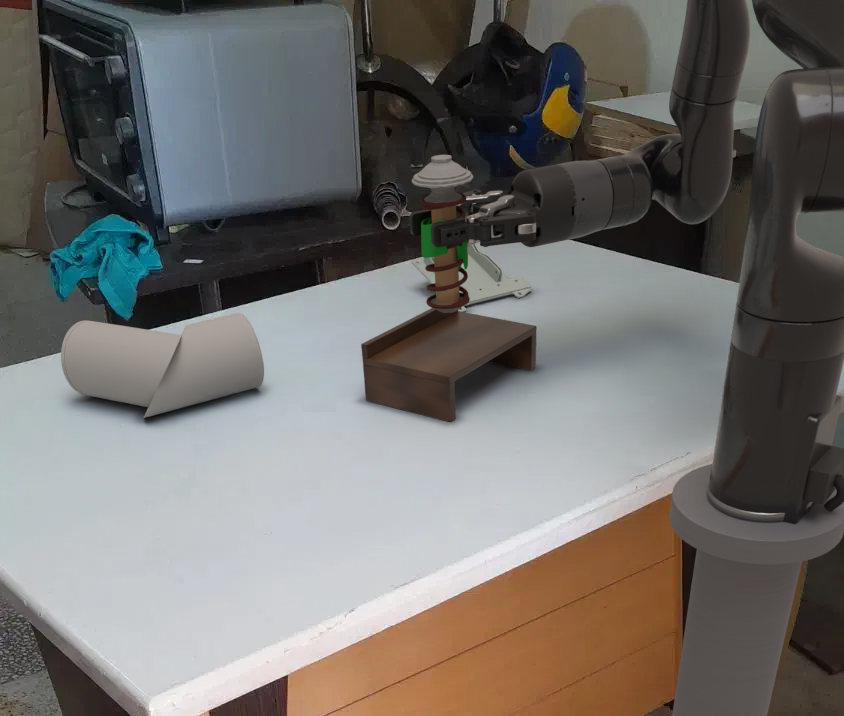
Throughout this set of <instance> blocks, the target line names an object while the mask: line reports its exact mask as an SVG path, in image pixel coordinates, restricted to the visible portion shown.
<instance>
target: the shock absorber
mask: <svg viewBox="0 0 844 716" xmlns="http://www.w3.org/2000/svg"><path fill="white" fill-rule="evenodd" d="M452 158H453V157H452V155H451V154H438V155H433V156H431V159H430V160H431V162H429V163H428V164H426V165H425V166H424V167H423V168H422V169H421V170H420V171H419V172H417V173H415V174H414V175H413V176H412V178H411V184H412V185H414V186H415V187H420V188H429V189H430V193H429V194H426V195H423V196H422V197H421V198H420V200H419V202H420V204H421V209H422V210H431V214H432V217H430V218H426V219H424V220H423V221H422V222H421V235H420V239H421V241H420V243H421V246H420V247H421V258H430V257H434V264H430V265H427V266H426V267H425V269H426V271H429V272H435V283H433V284H431V283H429V284H427V286H426V291H428V292H435V293H434V294H431V295H430V296H428V297H427V299H426V301H425V303H426V305H427V306H428V307H430V308H434V309H436V310H438V311H440V312H443V313H452V312H456V311H458V309H459V310H461V309H460V308H461V307H463V306H464V305H466V304H467V303H468V302H469V300H470V298H469V295H468V292H467V290H466V289H465V288H463V287H461V286H460V285H462V284H463V283H465V281H466V280H467V278H468V274H467V272H466V270H464V269H467V266H468V243H467V240H466V242H463V243H458V244H453V245H448V246H443V247H435V246H433V245H432V243H431V226H432V224H433V223H437V222H442V221H447V220H452V219H456V211H458V212H460V213H461V217H460V218H464V219H465V217H466V212H465V211H464V210H463V209H462V208H460V207H458V206H456V205H459V204H462V203H463V202H465V201H466V198H467V197H466V195H464V194H462V193H463V192H458V191H456V189H455V188H456V187H458V186H462V185H465V184H467V183H470V182H471V181H472V180H473V179H474V175H473V174H472V171H470V170H469V169H466V168H464V167H463V166H462V165H460V164H459V163H458V162H456V161H453V160H452ZM462 264H464V269H463V268H461V265H462ZM459 272H461V273H462V274H463V275H464V277H463V278H462V279H461V280H460V281H459ZM459 291H461V292H463V293H460V292H459ZM466 306H467V305H466ZM464 307H465V306H464Z"/></svg>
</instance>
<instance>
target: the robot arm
mask: <svg viewBox="0 0 844 716" xmlns="http://www.w3.org/2000/svg"><path fill="white" fill-rule="evenodd" d="M751 3H752V8H753V13H754V15H755V19H756V21H757V24H758V25H759V28H760V29H761V30H762V33H764V36H765V37H766V38H767V39H768V40H769V41H770V42H771V44H773V45H774V46H775V47H776V48H777V49H778V50H779V51H780V52H781V53H782V54H784V56H786V57H787V58H789V59H790V60H792V61H793V62H794V63H795V64H797V65H798V66H800V67H801V68H795V69H789V70H785V71H783V72H781V73H779V74H778V75H777V76H776V77H775V78H774V79H773V80H772V82H771V83H770V85H769V87H768V89H767V91H766V93H765V95H764V98H763V101H762V104H761V107H760V112H759V117H758V122H757V126H756V133H755V142H754V150H753V158H752V159H753V161H752V170H751V171H752V172H751V182H750V192H749V202H748V210H747V211H748V212H747V222H746V228H745V229H746V230H745V236H744V243H743V250H742V259H741V266H740V267H741V268H740V277H739V278H740V279H739V285H738V291H737V297H736V304H735V310H734V315H733V323H732V330H731V336H730V342H729V343H730V344H729V350H728V357H727V363H726V369H725V370H726V371H725V376H724V383H723V388H722V389H723V390H722V395H721V403H720V410H719V417H718V423H717V430H716V437H715V442H714V443H715V444H714V450H713V457H712V463H711V464H712V470H711V473H710V481H709V483H708V489H707V499H708V501H709V502H710V504H711V505H712V506H713V507H714V508H716V509H717V510H719V511H720V512H722V513H724V514H726V515H729V516H731V517H734V518H738V519H742V520H746V521H753V522H765V523H771V522H787V523H791V524H797V523H798V522H799V521H800V520H801V519H802V518H803V516H804V515H805V514H806V513H807V512H809V511H810V509H811V508H812V506H813V505H814V504H815V503H817V504H821V505H823V504H824V502H825V501H826V500H827V499H828V498H829V497H830V495H831V494H832V493H833V492H834V491H835V490H837V493H836V495H835V496H834V497H833V498H831V499H830V500H829V501H827V502H826V503H825V504H824V508H825V509H826V510H827V511H829V512H832V511H833V510H834V509H836V508H837V507H839V506H840V505H841V504H842V503H843V502H844V448H843V447H838V446H834V445H833V443H834V438H835V434H836V429H837V425H838V421H839V416H840V412H841V408H842V403H843V396H842V395H840V394H838V389H839V384H840V381H841V376H842V371H843V367H844V257H843V256H841V255H838V254H836V253H833V252H831V251H827V250H824V249H822V248H820V247H817V246H814V245H812V244H810V242H807V241H805V240H804V239H803V238H801V237H800V236H799V235H798V234H797V220H798V216H799V215H800V214H829V213H830V214H831V213H844V0H751ZM750 41H751V19H750V12H749V6H748V2H747V0H687V1H686V9H685V17H684V22H683V29H682V35H681V40H680V45H679V49H678V55H677V60H676V64H675V69H674V75H673V79H672V84H671V89H670V95H669V101H668V103H669V104H668V111H669V114H670V117H671V119H672V121H673V122H674V124H675V127H676V128H677V130H678V131H679V133H666V134H662V135H659V136H657V137H654V138H652V139H651V140H648V141H646V142H644V143H643V144H641V145H639V146H636V147H634V148H633V149H631V150H629V151H628V152H626V153H625V154H623V155H615V156H609V157H604V158H599V159H594V160H593V159H592V160H573V161H568V162H562V163H557V164H552V165H546V166H541V167H535V168H529V169H524V170H522V171H520V172H518V173H517V174H516V175H515V177H514V179H513V180H512V183H511V186H510V188H509V190H508V191H507V194H504V191H503V190H489V191H488V192H486V193H485V194H482V190H480V189H477V188H474V189H472V190H469V191H465V192H461V193H462V194H464V195H466V197H467V198H466V201H465V202H463V203H462V204H459V205H456V206H458V207H460V208H462V209H463V210H464V211H465V212H466V217H465V219H464V218H460V217H461V213H460V212H458V211H456V219H452V220H447V221H442V222H437V223H433V224H432V226H431V243H432V245H433V246H435V247H443V246H448V245H453V244H458V243H463V242H466V240H467V243H469V244H477V243H479V246H480V247H483V248H489V247H493V246H494V247H495V246H500V245H501V246H503V245H510V244H516V243H519V244H520V243H521V244H522V245H523V246H525V247H527V248H536V247H540V246H545V245H550V244H554V243H560V242H564V241H569V240H573V239H579V238H583V237H585V236H588V235H591V234H593V233H596V232H597V233H598V232H600V231H603V230H604V231H605V230H609V229H613V228H618V227H619V228H620V227H624V226H628V225H631V224H634V223H637V222H638V221H639V220H641V219H642V218H644V216H646V214H647V213H648V211H649V209H650V207H651V205H652V200H653V201H655V202H658V204H660V205H661V206H662V207H663V208H664V209H665V210H666V211H667V212H669V213H670V214H671V215H672V216H673V217H674V218H676V219H677V220H678V221H679V222H682V223H684V224H688V225H698V224H702V223H703V222H706V221H707V220H708V219H710V218H711V217H712V216H713V215H715V213H716V212H717V210H718V209H719V208H720V207H721V205H722V203H723V201H724V200H725V197H726V195H727V193H728V190H729V187H730V184H731V179H732V172H733V161H734V158H733V157H734V156H733V155H734V137H735V136H734V135H735V134H734V133H735V126H734V124H735V123H734V122H735V121H734V112H735V111H734V110H735V109H734V108H735V105H736V101H737V97H738V94H739V90H740V86H741V82H742V78H743V74H744V71H745V65H746V63H747V59H748V53H749V48H750V44H751V43H750ZM430 217H432V214H431V210H424V209H422V210H418V211H417V210H416V211H412V212H410V214H409V216H408V223H409V232H410V234H411V235H413V236H415V237H418V236H419V237H420V236H421V222H422V221H423V220H424V219H426V218H430Z"/></svg>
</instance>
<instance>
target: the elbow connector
mask: <svg viewBox="0 0 844 716" xmlns="http://www.w3.org/2000/svg"><path fill="white" fill-rule="evenodd" d="M60 363H61V369H62V373H63V375H64V377H65V379H66V381H67V383H68V385H69V386H70V387H71V388H72V389H73V391H75V392H76V393H79V394H80V395H84V396H88V397H93V398H99V399H102V400H103V399H104V400H109V401H114V402H119V403H124V404H130V405H135V406H139V407H144V408H145V407H146V408H147V409H146V410H145V414H144V416H143V419H146V418H150V417H154V416H157V415H160V414H164V413H168V412H172V411H175V410H179V409H183V408H187V407H191V406H194V405H197V404H202V403H205V402H208V401H212V400H216V399H219V398H224V397H227V396H231V395H235V394H238V393H241V392H242V393H243V392H245V391H249V390H254V389H256V388H260V387H261V386H262V385H263V383H264V378H265V366H264V358H263V353H262V349H261V345H260V342H259V339H258V336H257V334H256V332H255V330H254V327H253V326H252V324H251V322H250V320H249V319H248V317H247V316H245V314H243V313H242V312H235V313H231V314H227V315H222V316H218V317H214V318H211V319H206V320H201V321H198V322H197V321H196V322H194V323H193V322H192V323H189V324H186V325H185V326H184V328H183V331H182V332H181V334H178V333H173V332H171V333H170V332H165V331H160V330H159V331H158V330H153V329H147V328H146V329H145V328H139V327H134V326H133V327H132V326H127V325H120V324H113V323H106V322H102V321H101V322H100V321H94V320H80V321H78V322H76V323H74V324H73V325H72V326H70V328H69V329H68V330H67V332H66V334H65V335H64V338H63V341H62V343H61V350H60Z"/></svg>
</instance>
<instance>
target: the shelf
mask: <svg viewBox="0 0 844 716" xmlns="http://www.w3.org/2000/svg"><path fill="white" fill-rule="evenodd" d="M360 346H361V357H362V369H363V380H364V393H365V401H366V402H369V403H373V404H378V405H381V406H385V407H390V408H393V409H397V410H402V411H406V412H409V413H414V414H417V415H422V416H425V417H429V418H433V419H437V420H442V421H444V422H449V423H451V422H454V420H456V419H457V418H456V417H457V414H456V383H455V382H456V381H458V380H459V379H461V378H463V377H465V376H466V375H468V374H469V373H471V372H473V371H475V370H476V369H478V368H480V367H481V366H483V365H484V364H486V363H488V362H489V363H492V364H493V363H494V364H497V365H498V364H499V365H503V366H508V367H512V368H516V369H517V368H518V369H521V370H526V371H533V370H535V369H536V366H537V365H536V362H537V358H536V357H537V325H535V324H529V323H524V322H519V321H514V320H513V321H512V320H507V319H503V318H497V317H492V316H487V315H481V314H475V313H472V312H471V313H470V312H466V311H465V312H460V311H456V312H452V313H443V312H440V311H438V310H436V309H434V308H432V307H430V308H429V309H427V310H425V311H423V312H422V313H421V312H420V313H419V314H417V315H415V316H413V317H411V318H409V319H408V320H406V321H404V322H402V323H400V324H398V325H396V326H394V327H392V328H389V329H387V330H386V331H384V332H382V333H380V334H378V335H375V336H374V337H372V338H370V339H368V340H366V341H365V342H363V343H361V344H360Z"/></svg>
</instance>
